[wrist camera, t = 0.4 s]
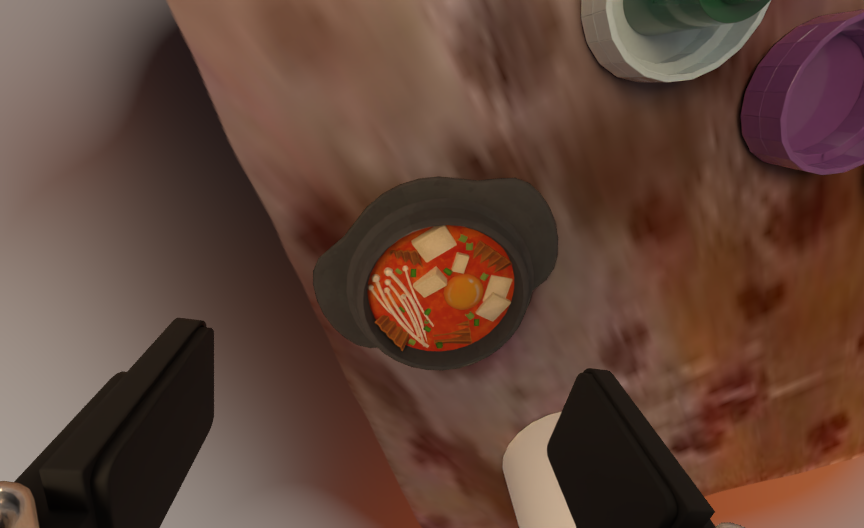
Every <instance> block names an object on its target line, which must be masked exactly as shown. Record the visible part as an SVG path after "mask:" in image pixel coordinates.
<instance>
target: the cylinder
mask: <svg viewBox="0 0 864 528" xmlns="http://www.w3.org/2000/svg"><path fill="white" fill-rule="evenodd" d="M560 414H561V412H558V413H554V414H550V415H547V416H545V417H543V418H541V419H539V420H537V421H534V422H532V423H531V424H529V425H528V426H527V427H525V428H524V429H523V430H522V431H520V432H519V433H518V434H517V435H516V436H515V438H514V439H513V440H512V441H511V442H510V444H509V445H508V447H507V450H506V452H505V454H504V456H503V466H502V468H503V472H504V476H505V479H506V483H507V486H508V490H509V493H510V497H511V500H512V504H513V507H514V511H515V514H516V518H517V521H518V525H519V528H576V525H575V523H574V520H573V518H572V515H571V513H570V511H569V508H568V506H567V503H566V501H565V498H564V496H563V493H562V491H561V489H560V486H559V484H558V481H557V479H556V476H555V474H554V471H553V469H552V467H551V464H550V462H549V459H548V456H547V444H548V442H549V439H550V437H551V435H552V433H553V430H554V428H555V426H556V424H557V421H558V419H559V417H560Z"/></svg>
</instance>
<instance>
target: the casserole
mask: <svg viewBox="0 0 864 528" xmlns="http://www.w3.org/2000/svg"><path fill="white" fill-rule="evenodd" d="M557 254H558V235H557V229H556V223H555V220H554V217H553V215H552V212H551V210H550V208H549V206H548V204H547V203H546V201H545V200H544V198H543V197H542V195H541V194H540V193H539V192H538V191H537V190H536V189H535V188H534V187H533V186H532V185H531V184H529V183H528V182H525V181H522V180H520V179H517V178H501V179H490V180H480V181H476V180H467V179H457V178H448V177H431V178H421V179H416V180H413V181H410V182H407V183H403V184H400V185H398V186H396V187H394V188H393V189H391V190H389V191H387V192H385V193H383V194H382V195H381V196H379V197H378V198H377V199H376V200H375V201H373V202H372V203H371V204H370V205H368V206H367V207H366V209H365V210H364V211H363V213H362V214H361V215H360V216H359V218H358V219H357V220H356V222H355V223H354V224H353V225H352V227H351V228H350V229H349V231H348V232H347V233H346V234H345V236H344V237H342V238H341V239H340V240H339V241H338V242H337V243H336V244H334V245H333V246H332V247H331V248H330V249H329V250H328V251H326V252H325V253H324V254H323V255H322V256H321V257H320V258H318V261H317V263H316V266H315V268H314V270H313V286H314V290H315V294H316V298H317V301H318V303H319V305H320V307H321V310H322V312H323V314H324V315H325V317H326V318H327V319H328V321H329V322H330V323H331V325H332V326H333V327H334V328H335V329H336V330H337V331H338V332H339V333H340V334H341V335H343V336H344V337H345V338H346V339H348V340H350V341H351V342H353V343H355V344H356V345H359V346H363V347H368V348H376V347H377V348H379V349H380V350H381V351H382V352H383V353H385V354H386V355H388V356H389V357H391V358H393V359H394V360H396V361H398V362H400V363H403V364H405V365H408V366H411V367H415V368H420V369H425V370H449V369H457V368H461V367H464V366H468V365H471V364H474V363H476V362H478V361H480V360H482V359H484V358H487V357H488V356H490V355H491V354H492V353H494V352H495V351H497V350H498V349H500V348H501V347H502V346H503V345H504V344H505V343H506V342H507V341H508V340H509V339H510V338H511V337H512V335H513V334H514V332H515V331H516V330H517V328H518V327H519V325H520V323H521V321H522V319H523V317H524V314H525V312H526V309H527V307H528V305H529V303H530V299H531V295H532V291H533V290H534V289H535V288H536V287H538V286H539V285H540V284H542V283H543V282H544V281H545V280H546V279H547V278H548V276H549V275H550V273H551V272H552V270H553V269H554V266H555V262H556V258H557Z"/></svg>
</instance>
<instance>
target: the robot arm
mask: <svg viewBox="0 0 864 528" xmlns="http://www.w3.org/2000/svg"><path fill="white" fill-rule="evenodd" d="M213 418H214V331H213V329H212V328H206V323H205V322H204V321H201V320H192V319H185V318H176V319H175V320H174V321H173V322H172V323H171V324H170V325H169V326H168V327H167V328H166V329H165V331H164V332H163V333H162V334H161V335H160V336H159V337H158V338H157V340H155V342H154V343H153V344H152V345H151V346H150V347H149V348H148V349H147V350H146V352H145V353H144V354H143V355H142V356H141V357H140V358H139V360H137V362H136V363H135V364H134V365H133V366H132V367H131V368H130V370H129V371H128V372H120V373H117V374H116V375H115V376H113V377H112V378H111V379H110V380H109V381H108V382H107V383H106V384H105V385H104V387H103V388H102V389H101V390H100V391H99V392H98V393H97V394H96V395H95V396H94V397H93V398H92V399H91V400H90V402H89V403H88V404H87V405H86V406H85V407H84V408H83V409H82V410H81V411H80V412H79V413H78V414H77V415H76V417H74V419H73V420H72V421H71V422H70V423H69V424H68V425H67V426H66V427H65V428H64V430H62V432H61V433H60V434H59V435H58V436H57V437H56V438H55V439H54V440H53V441H52V442H51V443H50V444H49V445H48V446H47V447H46V449H45V450H44V451H43V452H42V453H41V454H40V455H39V456H38V457H37V458H36V459H35V460H34V461H33V462H32V464H31V465H30V466H29V467H28V468H27V469H26V470H25V471H24V472H23V473H22V474H21V475H20V476H19V477H18V478H17V480H16V481H15V482H7V481H0V528H159V527H160V525H161V524H162V522H163V520H164V518H165V516H166V514H167V512H168V510H169V508H170V506H171V504H172V502H173V500H174V498H175V497H176V495H177V492H178V491H179V489H180V487H181V485H182V483H183V481H184V479H185V477H186V475H187V473H188V471H189V469H190V468H191V466H192V463H193V462H194V460H195V458H196V456H197V454H198V452H199V450H200V448H201V446H202V444H203V442H204V440H205V438H206V436H207V435H208V433H209V431H210V428H211V426H212V422H213ZM547 456H548V459H549V462H550V464H551V467H552V469H553V471H554V474H555V476H556V479H557V481H558V484H559V486H560V489H561V491H562V493H563V496H564V498H565V501H566V503H567V506H568V508H569V511H570V513H571V515H572V518H573V520H574V523H575V525H576V528H745V527H743V526H741V525H737V524H734V523H721V524H719V525H718V526H716V527H715V526H714V524H713V523H712V521H711V520H710V518H711V517H712V515H713V514H714V512H715V511H714V510H713V508H712V507H711V506H710V504H709V503H708V502H707V500H706V499H705V498H704V496H703V495H702V494H701V492H700V491H699V490H698V488H697V487H696V485H695V484H694V483H693V481H692V480H691V479H690V477H689V476H688V475H687V473H686V472H685V471H684V469H683V468H682V467H681V465H680V464H679V463H678V461H677V460H676V459H675V457H674V456H673V455H672V453H671V452H670V450H669V449H668V448H667V446H666V445H665V444H664V442H663V441H662V440H661V438H660V437H659V436H658V434H657V433H656V432H655V430H654V429H653V428H652V426H651V425H650V424H649V422H648V421H647V420H646V418H645V417H644V416H643V414H642V413H641V411H640V410H639V409H638V407H637V406H636V405H635V403H634V402H633V401H632V399H631V398H630V397H629V395H628V394H627V393H626V391H625V390H624V389H623V387H622V386H621V385H620V383H619V382H618V381H617V379H616V378H615V376H614V375H613V374H612V373H611V372H610V371H607V370H600V369H592V368H588V369H586V370H585V371H584V372H583V373H580V374H579V375H578V376H577V378H576V381H575V383H574V385H573V387H572V390H571V392H570V394H569V396H568V399H567V401H566V403H565V405H564V408H563V410H562V412H561V414H560V417H559V419H558V421H557V424H556V426H555V428H554V430H553V433H552V435H551V437H550V439H549V442H548V444H547Z"/></svg>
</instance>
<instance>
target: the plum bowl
mask: <svg viewBox="0 0 864 528" xmlns="http://www.w3.org/2000/svg"><path fill="white" fill-rule="evenodd" d="M740 116H741V127H742V135H743V137H744V139H745V141H746V143H747V145H748V147H749V149H750V151H751V152H752V153H753V154H754V155H756V156H757V157H758V158H759V159H761V160H762V161H763V162H766V163H770V164H774V165H779V166H783V167H787V168H792V169H796V170H801V171H805V172H810V173H814V174H819V175H828V174H835V173H843V172H846V171H849V170H851V169H853V168H856V167H858V166H861V165H863V164H864V10H857V11H850V12H844V13H837V14H830V15H824V16H819V17H817V18H815V19H812V20H810V21H808V22H806V23H804V24H801V25H799V26H797V27H796V28H794V29H793V30H792V31H791V32H789V33H788V34H787V35H786V36H785V37H783V38H782V39H781V40H780V41H778V42H777V43H776V44H775V45H774V46H773V47H772V48H771V49H770V51H769V52H768V53H767V55H766V56H765V57H764V58H763V60H762V61H761V62H760V63H759V65H758V66H757V68H756V70H755V72H754V74H753V76H752V78H751V80H750V82H749V85H748V87H747V89H746V92H745V95H744V100H743V105H742V110H741V115H740Z"/></svg>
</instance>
